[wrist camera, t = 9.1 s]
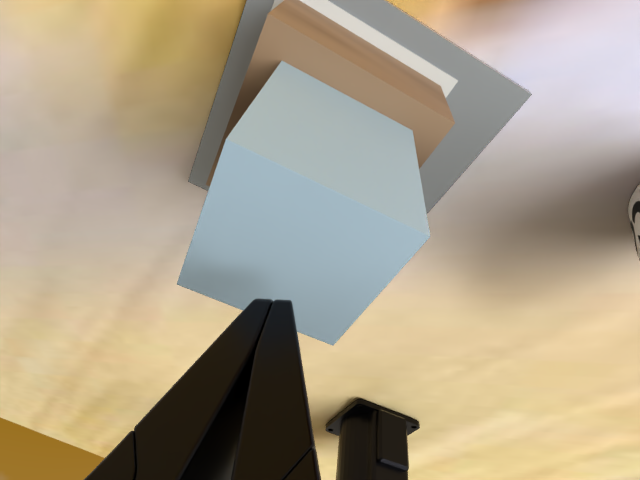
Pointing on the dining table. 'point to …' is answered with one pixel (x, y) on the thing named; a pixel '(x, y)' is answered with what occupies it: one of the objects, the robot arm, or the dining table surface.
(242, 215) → the blue block
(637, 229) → the cup
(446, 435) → the dining table surface
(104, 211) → the dining table surface
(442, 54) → the build board
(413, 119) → the walnut base
